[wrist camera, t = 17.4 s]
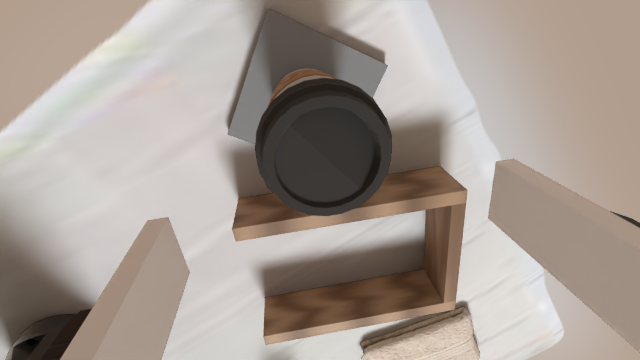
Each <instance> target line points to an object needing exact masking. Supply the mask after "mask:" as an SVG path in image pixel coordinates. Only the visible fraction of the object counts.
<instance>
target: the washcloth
mask: <svg viewBox="0 0 640 360" xmlns="http://www.w3.org/2000/svg"><path fill="white" fill-rule="evenodd" d="M473 333H474V329H473V325H472V320H471V316H470V313H469V311H468V310H467V309H466V308H465V307H460V308H458V309H456V310H452V311H450V312H447V313H443V314H441V315H438V316H435V317H432V318H430V319H427V320H423V321H421V322H417V323H415V324H412V325H410V326H407V327H405V328H402V329H399V330H396V331H394V332H391V333H387V334H385V335H381V336H379V337H375V338H372V339H369V340H366V341H363V342H361V346H362V349H363V353H364V354H363V356H362V358H361V359H363V360H479V359H480V351H479V349H478V346H477V343H476V342H475V340H474V336H473Z"/></svg>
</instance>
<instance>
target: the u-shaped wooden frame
mask: <svg viewBox="0 0 640 360" xmlns="http://www.w3.org/2000/svg"><path fill="white" fill-rule="evenodd" d="M466 199H467V189H466V188H464V187H463V186H462V185H461V184H460V183H459V182H458V181H456V180H455V179H454V178H453V177H452V176H451V175H450V174H449V173H447V172H446V171H445V170H444V169H443V168H442V167H441V166H438V167H432V168H426V169H419V170H413V171H407V172H401V173H394V174H388V175H386V177H385V179H384V181H383V183H382V185H381V186H380V188H379V189H378V190H377V191H376V192H375V193H374V194H373V196H372V197H371V198H370V199H369V200H367V201H366V202H364V203H363V204H361V205H360V206H359V207H357V208H355V209H352V210H350V211H348V212H345V213H343V214H337V215H331V216H313V215H309V214H305V213H302V212H299V211H296V210H295V209H293V208H291V207H289V206H288V205H286V204H284V203H283V202H282V201H281V200H280V199H279V198H278V197H277V196H276V195H275V194H274V193H269V194H263V195H257V196H251V197H244V198H239V199H238V204H237V209H236V213H235V218H234V223H233V228H232V230H233V233H234V237H235V240H236V241H242V240H248V239H254V238H260V237H266V236H272V235H278V234H284V233H290V232H296V231H302V230H308V229H314V228H320V227H326V226H332V225H337V224H343V223H349V222H355V221H361V220H367V219H373V218H379V217H385V216H391V215H397V214H403V213H409V212H415V211H421V210H426V224H425V249H424V269H423V270H417V271H411V272H406V273H400V274H395V275H389V276H383V277H378V278H372V279H367V280H361V281H355V282H350V283H344V284H339V285H333V286H327V287H322V288H316V289H311V290H305V291H299V292H294V293H288V294H283V295H277V296H271V297H266V298H265V312H264V340H265V343H266V345H268V344H274V343H279V342H284V341H290V340H295V339H300V338H306V337H311V336H316V335H322V334H327V333H332V332H338V331H343V330H348V329H354V328H359V327H364V326H370V325H375V324H381V323H386V322H391V321H397V320H402V319H407V318H413V317H418V316H423V315H429V314H434V313H439V312H445V311H450V310H455V303H456V293H457V284H458V274H459V265H460V255H461V246H462V237H463V227H464V218H465V208H466Z"/></svg>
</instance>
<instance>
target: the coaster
mask: <svg viewBox="0 0 640 360" xmlns="http://www.w3.org/2000/svg"><path fill="white" fill-rule="evenodd" d="M387 66H388V65H386V64H384V63H382V62H380V61H378V60H376V59H373V58H371V57H369V56H367V55H365V54H363V53H361V52H359V51H357V50H355V49H352V48H350V47H348V46H346V45H344V44H342V43H340V42H338V41H336V40H333V39H331V38H329V37H327V36H325V35H323V34H321V33H319V32H317V31H314V30H312V29H310V28H308V27H306V26H304V25H302V24H300V23H298V22H296V21H293V20H291V19H289V18H287V17H285V16H283V15H281V14H279V13H277V12H274V11H272V10H270V9H268V11H267V14H266V17H265V20H264V23H263V26H262V29H261V32H260V35H259V39H258V42H257V45H256V48H255V51H254V54H253V57H252V60H251V63H250V66H249V69H248V73H247V76H246V79H245V82H244V85H243V88H242V91H241V94H240V97H239V100H238V103H237V107H236V110H235V113H234V116H233V119H232V122H231V125H230V128H229V131H228V135H231V136H233V137H236V138H239V139H242V140H245V141H248V142H251V143H254V144H255V142H256V131H257V128H258V125H259V123H260V120H261V117H262V115H263V113H264V112H265V110H266V109H267V107H268V104H269V102H270V99H271V97H272V95H273V92H274V90H275V89H276V87H277V86H278V84H279V83H280V81H281V80H282V79H283V78H284V77H285V76H286V75H288V74H289V73H291V72H293V71H295V70H297V69H304V68H309V69H316V70H318V71H322V72H324V73H326V74H329V75H331V76H333V77H335V78H337V79H339V80H344V81H346V82H348V83H351V84H353V85H356V86H358V87H360V88H361V89H362V90H363V91H365V92H366V93H367V94H368V95H370V96H371V97H372V98H373V95H374V93H375V91H376V89H377V87H378V85H379V83H380V81H381V79H382V77H383V75H384V73H385V71H386V69H387Z"/></svg>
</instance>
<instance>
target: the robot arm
mask: <svg viewBox="0 0 640 360" xmlns="http://www.w3.org/2000/svg"><path fill="white" fill-rule="evenodd" d="M488 219H490V220H491V221H492V222H493V223H494V224H495V225H496V226H497V227H499V228H500V229H501V230H502V231H503V232H504V233H505V234H507V235H508V236H509V237H510V238H511V239H512V240H513V241H514V242H516V243H517V244H518V245H519V246H520V247H521V248H522V249H523V250H525V251H526V252H527V253H528V254H529V255H530V256H531V257H532V258H534V259H535V260H536V261H537V262H538V263H539V264H540V265H541V266H543V267H544V268H545V269H546V270H547V271H548V272H549V273H551V274H552V275H553V276H554V277H555V278H556V279H557V280H558V281H560V282H561V283H562V284H563V285H564V286H565V287H566V288H567V289H568V290H570V291H571V292H572V293H573V294H574V295H575V296H576V297H577V298H579V299H580V300H581V301H582V302H583V303H584V304H585V305H587V306H588V307H589V308H590V309H591V310H592V311H593V312H594V313H595V314H597V315H598V316H599V317H600V318H601V319H602V320H603V321H604V322H606V323H607V324H608V325H609V326H610V327H611V328H612V329H613V330H615V331H616V332H617V333H618V334H619V335H620V336H621V337H622V338H624V339H625V340H626V341H627V342H628V343H629V344H631V345H632V346H633V347H634V348H635V349H636V350H637V351H639V353H640V223H639V222H637V221H635V220H633V219H631V218H628V217H625V216H623V215H619V214H617V213H614V212H611V211H608V210H606V209H604V208H602V207H601V206H599V205H597V204H595V203H593V202H592V201H590V200H588V199H586V198H584V197H583V196H580V195H579V194H577V193H575V192H573V191H572V190H570V189H568V188H566V187H564V186H562V185H561V184H559V183H557V182H555V181H553V180H552V179H550V178H548V177H546V176H544V175H543V174H541V173H539V172H537V171H535V170H533V169H532V168H530V167H528V166H526V165H524V164H523V163H520V162H519V161H517V160H515V159H509V160H503V161H497V162H496V165H495V172H494V180H493V187H492V194H491V201H490V208H489V215H488ZM189 273H190V272H189V269H188V267H187V264H186V262H185V259H184V256H183V254H182V251H181V249H180V246H179V244H178V241H177V238H176V236H175V233H174V231H173V228H172V226H171V223H170V220H169V218H168V217H166V218H160V219H154V220H148V221H147V222H146V224H145V225H144V227H143V229H142V230H141V232H140V233H139V235H138V236H137V238H136V240H135V241H134V243H133V244H132V246H131V248H130V249H129V251H128V252H127V254H126V256H125V257H124V259H123V260H122V262H121V263H120V265H119V267H118V268H117V270H116V271H115V273H114V275H113V276H112V278H111V279H110V281H109V283H108V284H107V286H106V287H105V289H104V291H103V292H102V294H101V295H100V297H99V298H98V300H97V302H96V303H95V305H94V306H93V308H92V309H88V310H83V311H80V312H79V313H78V314H77V315H60V316H54V317H50V318H46V319H43V320H41V321H38V322H36V323H34V324H33V325H31V326H30V327H28V328H27V329H26V330H25V331H24V332H23V333H22V335H21V336H20V337H19V338H18V339H17V341H16V342H15V343H14V344H13V346H12V347H11V349H10V350H9V352H8V354H7V356H6V359H5V360H161V359H162V356H163V353H164V350H165V347H166V344H167V341H168V338H169V334H170V331H171V328H172V325H173V322H174V319H175V316H176V313H177V310H178V307H179V304H180V301H181V298H182V295H183V292H184V289H185V285H186V282H187V279H188V276H189Z"/></svg>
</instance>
